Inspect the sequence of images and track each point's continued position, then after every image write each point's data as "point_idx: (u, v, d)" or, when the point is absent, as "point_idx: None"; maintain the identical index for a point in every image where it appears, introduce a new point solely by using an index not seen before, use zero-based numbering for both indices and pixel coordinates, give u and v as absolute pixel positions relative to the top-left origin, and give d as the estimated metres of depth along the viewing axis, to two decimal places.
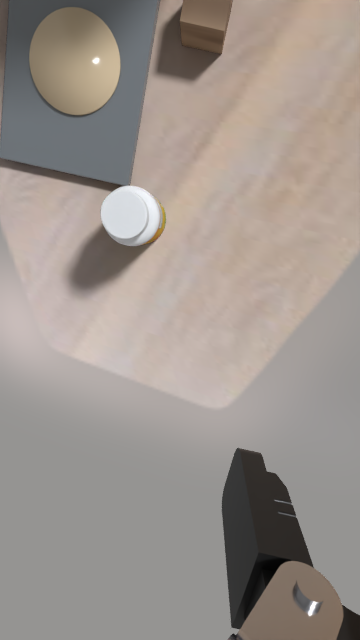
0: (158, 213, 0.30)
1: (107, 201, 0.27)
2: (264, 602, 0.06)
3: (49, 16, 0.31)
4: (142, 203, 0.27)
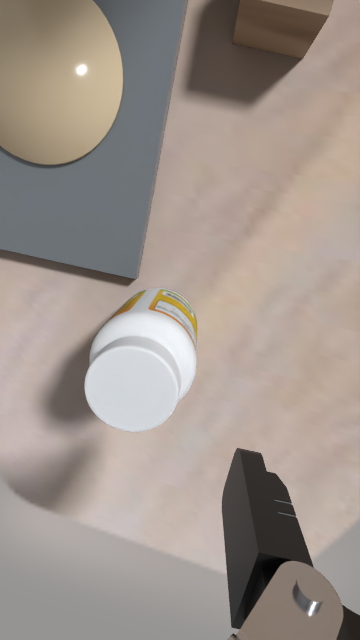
0: (195, 361, 0.16)
1: (98, 367, 0.13)
2: (264, 602, 0.06)
3: None
4: (169, 372, 0.13)
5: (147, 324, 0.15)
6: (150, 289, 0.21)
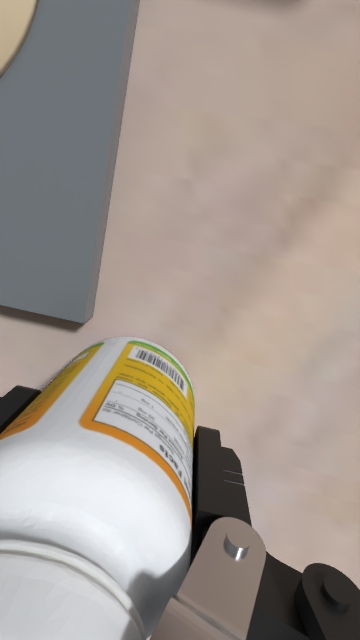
0: (187, 549, 0.07)
1: None
2: (199, 559, 0.06)
3: None
4: None
5: (63, 482, 0.06)
6: (111, 340, 0.12)
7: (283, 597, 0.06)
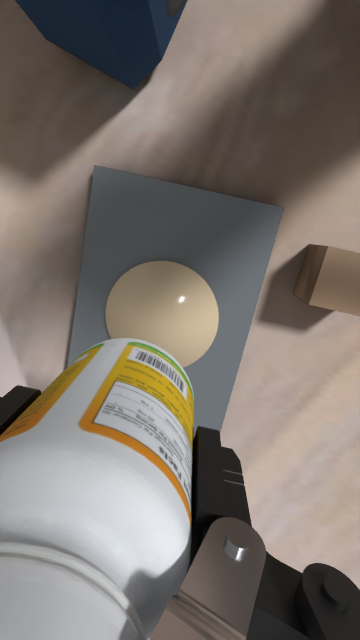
0: (187, 551, 0.07)
1: None
2: (199, 559, 0.06)
3: (133, 269, 0.25)
4: None
5: (63, 485, 0.06)
6: (111, 342, 0.12)
7: (283, 597, 0.06)
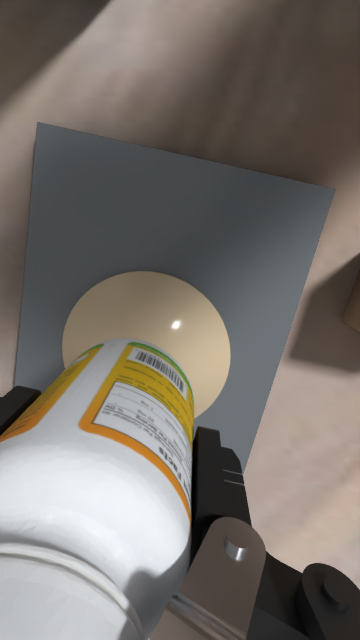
0: (187, 551, 0.07)
1: None
2: (199, 559, 0.06)
3: (102, 284, 0.17)
4: None
5: (63, 485, 0.06)
6: (111, 342, 0.12)
7: (283, 597, 0.06)
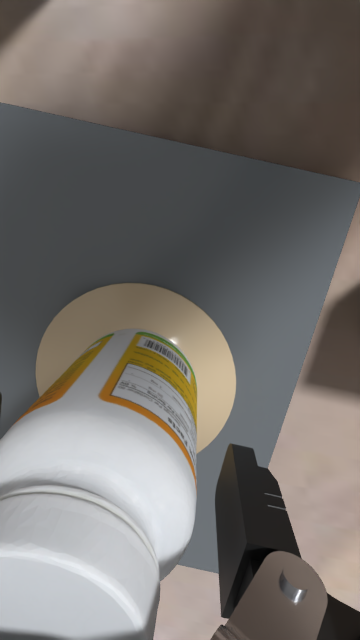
0: (193, 504, 0.08)
1: None
2: (251, 592, 0.06)
3: (81, 299, 0.14)
4: (125, 611, 0.05)
5: (88, 443, 0.07)
6: (121, 332, 0.13)
7: None
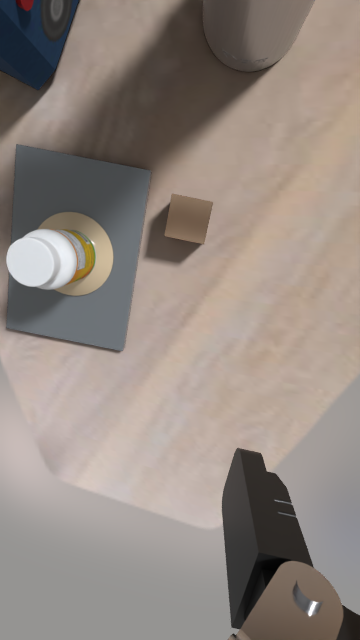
0: (73, 256, 0.29)
1: (12, 249, 0.27)
2: (264, 602, 0.06)
3: (49, 219, 0.35)
4: (48, 251, 0.26)
5: (43, 234, 0.28)
6: None
7: None
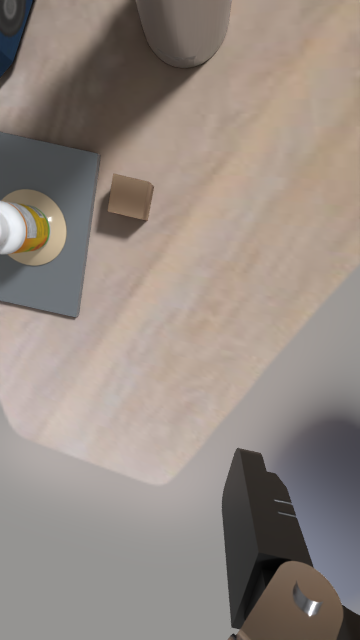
0: (22, 225, 0.34)
1: None
2: (264, 602, 0.06)
3: (9, 195, 0.40)
4: None
5: None
6: None
7: None
